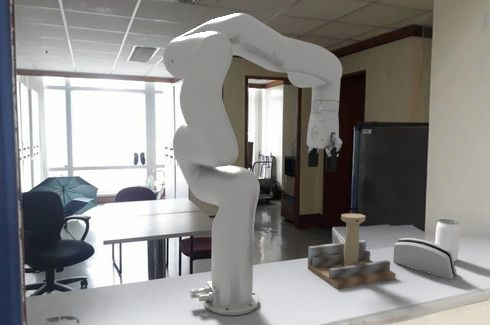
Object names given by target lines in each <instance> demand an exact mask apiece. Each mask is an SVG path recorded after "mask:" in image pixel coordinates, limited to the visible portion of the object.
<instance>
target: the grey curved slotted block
mask: <svg viewBox="0 0 490 325" xmlns="http://www.w3.org/2000/svg"><path fill="white" fill-rule="evenodd" d="M393 262H394V264H398V265H400V264H401V265H400V266H404V265H405V266H404V267H407V266H409V267H408V268H411V267H413V268H412V269H414V268H416V269H415V270H418V269H419V271H421V270H423V271H422V272H424V271H426V273H428V272H430V273H429V274H431V273H433V274H432V275H435V274H436V275H435V276H438V275H439V276H438V277H443V278H446V279H449V280H452V279H454V276H455V275H457V268H456V265H455V262H454V261H453V256H452V252H451V251H450V250H448V249H446V248H444V247H442V246H440V245H438V244H435V242H431V241H429V240H425V239H420V238H415V237H413V238H412V237H403V238H401V237H400V238H399V239H398V240H397V241H396V242H395V243H394V247H393Z"/></svg>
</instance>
